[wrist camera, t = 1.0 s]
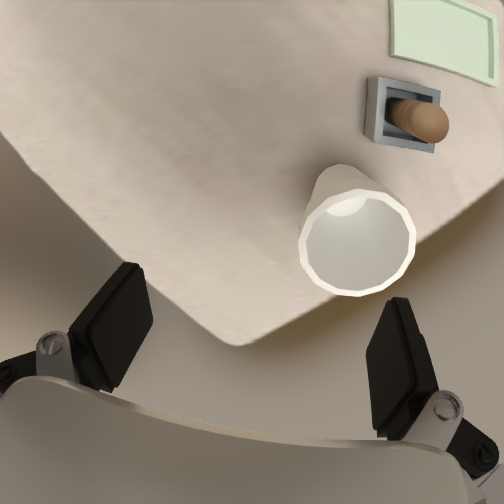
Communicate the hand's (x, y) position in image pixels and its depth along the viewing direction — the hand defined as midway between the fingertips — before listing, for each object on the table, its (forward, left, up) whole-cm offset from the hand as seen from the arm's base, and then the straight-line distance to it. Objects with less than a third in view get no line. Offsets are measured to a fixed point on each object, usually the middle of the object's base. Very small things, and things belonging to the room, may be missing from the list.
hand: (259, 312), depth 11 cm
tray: (-18, +17, -25) cm, 35 cm away
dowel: (-7, +11, -24) cm, 27 cm away
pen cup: (-7, +11, -25) cm, 28 cm away
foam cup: (+3, +6, -25) cm, 26 cm away
